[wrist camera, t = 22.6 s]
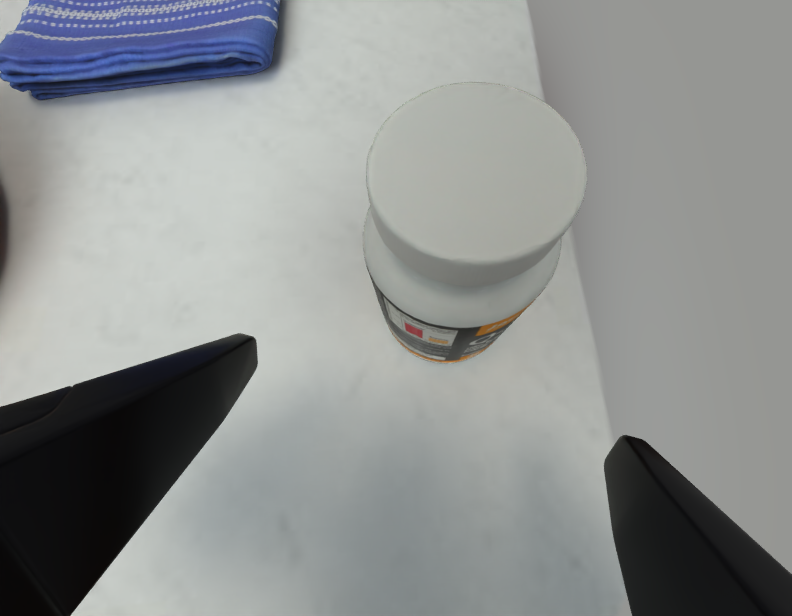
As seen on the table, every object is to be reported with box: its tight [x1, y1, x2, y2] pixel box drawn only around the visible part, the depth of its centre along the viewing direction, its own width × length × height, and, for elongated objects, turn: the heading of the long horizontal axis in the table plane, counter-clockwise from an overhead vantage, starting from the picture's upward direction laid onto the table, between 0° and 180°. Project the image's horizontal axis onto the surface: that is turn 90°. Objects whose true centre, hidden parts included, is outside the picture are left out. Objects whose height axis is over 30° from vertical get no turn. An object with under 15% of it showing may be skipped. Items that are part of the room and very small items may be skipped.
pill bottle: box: [363, 82, 587, 363], centre depth 12 cm, size 6×6×10 cm
